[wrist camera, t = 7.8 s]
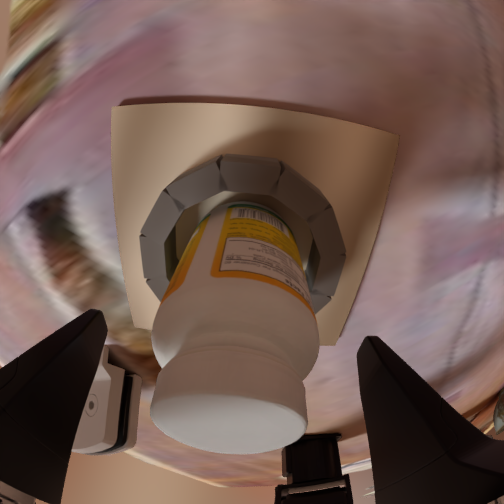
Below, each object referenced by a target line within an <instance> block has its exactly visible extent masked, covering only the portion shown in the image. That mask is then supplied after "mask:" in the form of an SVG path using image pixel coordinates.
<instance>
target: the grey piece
mask: <svg viewBox="0 0 504 504" xmlns="http://www.w3.org/2000/svg"><path fill="white" fill-rule="evenodd" d="M108 352H109V348H108V347H107V346H106V345H104V347H103V351H102V354H101V358H100V362H99V366H98V369H97V372H96V375H95V378H94V380H93V383H92V386H91V389H90V392H89V395H88V398H87V400H86V403H85V407H84V410H83V413H82V416H81V419H80V422H79V426H78V429H77V433H76V436H75V440H74V443H73V447H72V452H77V453H82V454H87V455H108V454H114V453H119V452H122V451H125V450H128V449H130V448H132V447H134V446H135V444H136V440H137V426H138V414H139V404H140V394H141V386H142V379H141V377H140V376H138V375H136V374H133V375H126V374H124V372H125V370H124V369H122V368H119V367H116V366H113V365H111V364H108V363H107V362H108Z"/></svg>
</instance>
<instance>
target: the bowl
mask: <svg viewBox="0 0 504 504" xmlns="http://www.w3.org/2000/svg"><path fill="white" fill-rule="evenodd" d="M498 396H499V400H498V402H497V404H496V406H495V410H494V415H493V421H494V426H495V429H496V435H498V434H500V433H501V432H503V431H504V388H503V389H502V390H501V391H500V392H499V394H498Z"/></svg>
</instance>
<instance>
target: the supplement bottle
mask: <svg viewBox="0 0 504 504" xmlns="http://www.w3.org/2000/svg"><path fill="white" fill-rule="evenodd" d="M319 344H320V341H319V331H318V325H317V320H316V316H315V312H314V309H313V305H312V301H311V296H310V293H309V289H308V285H307V281H306V276H305V273H304V269H303V266H302V262H301V258H300V255H299V251H298V247H297V243H296V240H295V237H294V234H293V232H292V230H291V228H290V226H289V225H288V224H287V222H286V221H285V220H284V219H283V218H282V217H281V216H280V215H279V214H278V213H276V212H275V211H274V210H272V209H270V208H268V207H266V206H264V205H261V204H258V203H254V202H246V201H240V202H232V203H227V204H224V205H221V206H219V207H217V208H215V209H214V210H212V211H211V212H209V213H208V214H207V215H206V216H204V217H203V219H202V220H201V221H200V222H199V224H198V225H197V227H196V229H195V231H194V232H193V234H192V237H191V239H190V241H189V243H188V245H187V247H186V249H185V251H184V253H183V256H182V258H181V260H180V262H179V264H178V266H177V268H176V270H175V273H174V275H173V277H172V279H171V281H170V283H169V285H168V288H167V290H166V292H165V294H164V296H163V298H162V300H161V303H160V306H159V308H158V311H157V313H156V316H155V319H154V322H153V327H152V346H153V350H154V353H155V356H156V359H157V361H158V363H159V364H160V366H161V368H162V370H161V371H160V372H159V374H158V377H157V380H156V387H155V391H154V395H153V399H152V403H151V407H150V416H151V419H152V421H153V422H154V424H155V425H156V426H157V427H158V428H159V429H160V430H161V431H162V432H163V433H165V434H166V435H168V436H169V437H171V438H173V439H175V440H177V441H179V442H181V443H183V444H186V445H188V446H191V447H195V448H198V449H201V450H205V451H210V452H216V453H225V454H256V453H263V452H268V451H272V450H276V449H280V448H282V447H285V446H287V445H289V444H292V443H293V442H295V441H297V440H298V439H299V438H301V436H302V435H303V434H304V433H305V431H306V429H307V425H308V418H307V408H306V399H305V387H304V384H303V382H302V381H303V380H304V379H305V378H306V377H307V375H308V374H309V373H310V371H311V370H312V368H313V366H314V364H315V362H316V360H317V357H318V353H319Z"/></svg>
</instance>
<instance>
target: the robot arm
mask: <svg viewBox="0 0 504 504" xmlns="http://www.w3.org/2000/svg"><path fill="white" fill-rule="evenodd" d="M107 332H108V329H107V325H106V321H105V318H104V315H103V312H102V311H100V310H97V309H90V310H88V311H86V312H85V313H83V314H82V315H80V316H79V317H77V318H75V319H74V320H72V321H71V322H69V323H68V324H66V325H65V326H63V327H62V328H60V329H58V330H57V331H55V332H54V333H52V334H51V335H49V336H48V337H46V338H45V339H43V340H42V341H40V342H39V343H37V344H36V345H35V346H33V347H32V348H30V349H29V350H27V351H26V352H24V353H23V354H21V355H20V356H19V357H17V358H16V359H14V360H13V361H11V362H10V363H8V364H7V365H5V366H4V367H2V368H1V369H0V504H36V502H35V500H36V498H37V499H39V500H42V501H44V502H47V503H49V504H61V497H62V492H63V487H64V482H65V477H66V473H67V468H68V463H69V459H70V455H71V451H72V447H73V443H74V440H75V436H76V433H77V429H78V426H79V422H80V419H81V416H82V413H83V410H84V407H85V403H86V400H87V398H88V395H89V392H90V389H91V386H92V383H93V380H94V378H95V375H96V372H97V369H98V366H99V362H100V358H101V354H102V351H103V347H104V343H105V340H106V336H107ZM357 365H358V375H359V386H360V395H361V401H362V407H363V412H364V418H365V423H366V429H367V435H368V442H369V448H370V455H371V463H372V471H373V479H374V489H375V500H376V504H504V440H495V439H492V438H490V437H488V436H486V435H485V434H484V433H482V432H481V431H480V430H479V429H477V428H476V427H475V426H474V425H473V424H471V423H470V422H469V421H468V420H466V419H465V418H464V417H463V416H462V415H460V414H459V413H458V412H457V411H456V410H455V409H454V408H453V407H452V406H451V405H449V404H448V403H447V402H446V401H445V400H444V399H443V398H441V396H440V395H439V394H438V393H437V392H436V391H435V390H434V389H433V388H432V387H431V386H430V385H429V384H428V383H427V382H426V381H425V380H424V379H423V378H421V377H420V376H419V375H418V374H417V373H416V372H415V371H414V370H413V369H412V368H411V367H410V366H409V365H408V364H407V363H406V362H405V361H404V360H403V359H401V358H400V357H399V356H398V355H397V354H396V353H395V352H394V351H393V350H392V349H391V348H390V347H389V346H388V345H387V344H385V343H384V342H383V341H382V340H381V339H380V338H379V337H378V336H366V337H365V338H364V340H363V342H362V344H361V346H360V348H359V350H358V352H357ZM341 437H342V435H341V434H330V435H317V436H301V438H299V439H298V440H297V441H295V442H293V443H292V444H289V445H287V446H285V447H284V449H283V450H282V476H283V477H287V485H282V484H281V485H278V487H275V503H274V504H353V497H352V491H351V485H350V479H349V474H345V475H343V476H342V470H341V463H340V456H339V450H338V443H337V441H338V440H339V439H340V438H341ZM339 485H345V487H342V488H340V486H339ZM334 486H338V487H334ZM329 487H333V488H329ZM323 488H328V489H323ZM317 489H322V490H317ZM311 490H316V491H311ZM304 491H309V492H304ZM295 492H302V493H295ZM289 493H293V494H289Z"/></svg>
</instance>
